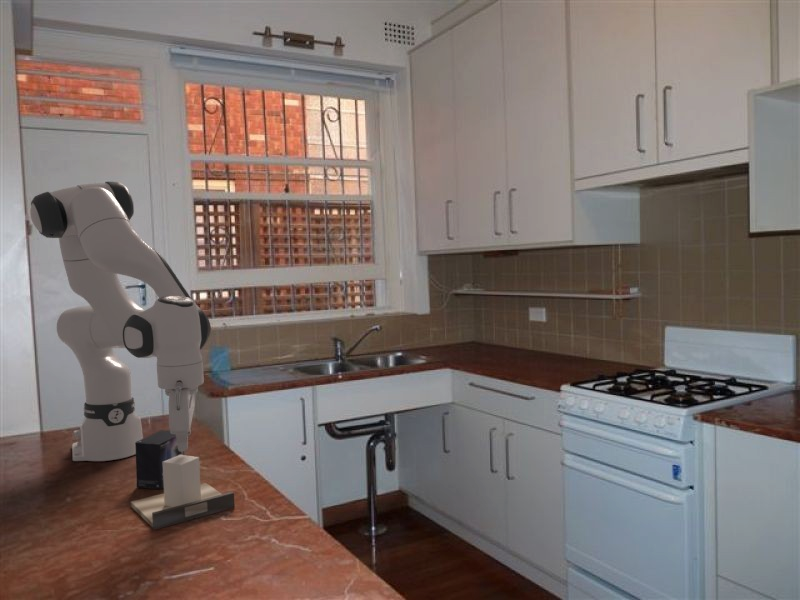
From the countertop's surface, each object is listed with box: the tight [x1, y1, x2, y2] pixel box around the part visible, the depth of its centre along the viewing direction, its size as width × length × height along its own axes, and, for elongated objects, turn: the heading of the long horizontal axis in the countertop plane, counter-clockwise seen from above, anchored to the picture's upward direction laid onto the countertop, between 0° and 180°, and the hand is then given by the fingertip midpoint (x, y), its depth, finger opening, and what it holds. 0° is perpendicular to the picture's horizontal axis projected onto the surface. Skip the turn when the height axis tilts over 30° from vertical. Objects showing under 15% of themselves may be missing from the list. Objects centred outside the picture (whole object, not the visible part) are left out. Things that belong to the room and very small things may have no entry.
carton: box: [162, 454, 201, 507], centre depth 130 cm, size 5×5×9 cm
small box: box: [135, 429, 185, 490], centre depth 146 cm, size 11×6×10 cm, turn 168°
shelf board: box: [130, 482, 235, 530], centre depth 131 cm, size 15×16×3 cm
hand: (184, 443), depth 130 cm, fingers open, 8 cm apart
